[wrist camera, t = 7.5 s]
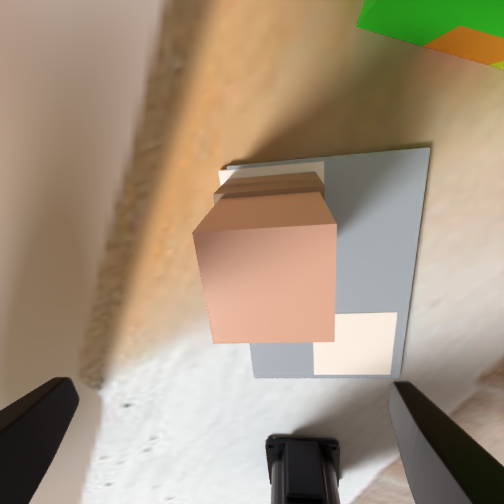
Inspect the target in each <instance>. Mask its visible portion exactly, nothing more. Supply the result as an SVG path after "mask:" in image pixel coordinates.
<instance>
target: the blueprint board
mask: <svg viewBox="0 0 504 504" xmlns="http://www.w3.org/2000/svg"><path fill="white" fill-rule="evenodd" d="M429 155H430V147H422V148H411V149H401V150H390V151H379V152H369V153H358V154H347V155H337V156H326V157H315V158H304V159H294V160H283V161H272V162H262V163H251V164H240V165H230V166H227V169H225V170H219V171H218V172H219V179H220V186H222V185H223V184H224V183H225V182H226V181H227V179H234V178H246V177H257V176H268V175H280V174H291V173H303V172H314V171H315V172H316V173H317V175H318V176H319V178H320V179H321V181H322V182H323V184H324V185H325V203H326V205H327V207H328V208H329V210H330V212H331V214H332V216H333V218H334V219H335V221H336V223H337V243H336V292H335V342H301V343H250V350H251V358H252V366H253V373H254V378H400V370H401V363H402V356H403V348H404V341H405V333H406V326H407V318H408V311H409V304H410V296H411V289H412V281H413V274H414V266H415V259H416V252H417V244H418V237H419V229H420V222H421V214H422V207H423V200H424V192H425V185H426V177H427V170H428V162H429Z"/></svg>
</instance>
